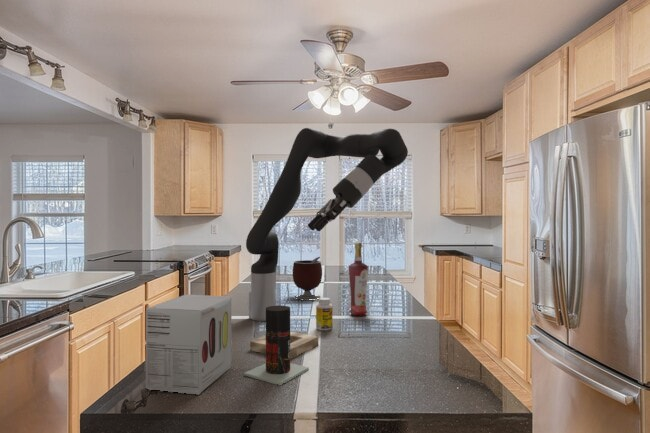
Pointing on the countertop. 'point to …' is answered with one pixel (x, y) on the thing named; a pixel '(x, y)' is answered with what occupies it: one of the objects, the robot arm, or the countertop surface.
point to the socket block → (297, 343)
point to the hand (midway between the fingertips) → (312, 228)
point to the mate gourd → (307, 276)
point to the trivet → (276, 378)
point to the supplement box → (188, 343)
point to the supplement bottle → (324, 314)
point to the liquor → (358, 284)
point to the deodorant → (277, 339)
